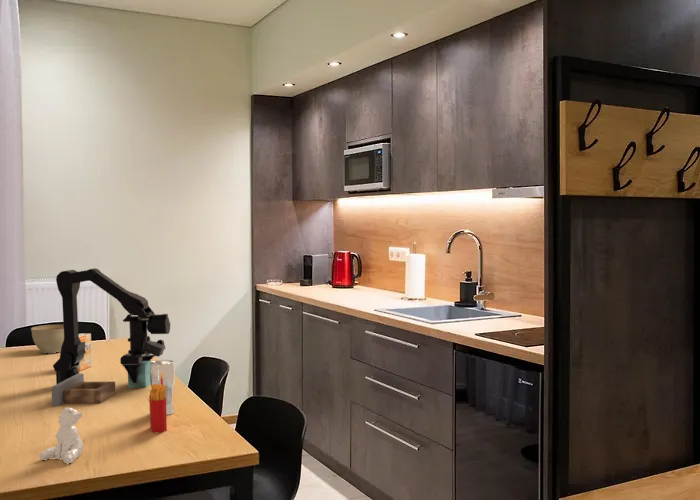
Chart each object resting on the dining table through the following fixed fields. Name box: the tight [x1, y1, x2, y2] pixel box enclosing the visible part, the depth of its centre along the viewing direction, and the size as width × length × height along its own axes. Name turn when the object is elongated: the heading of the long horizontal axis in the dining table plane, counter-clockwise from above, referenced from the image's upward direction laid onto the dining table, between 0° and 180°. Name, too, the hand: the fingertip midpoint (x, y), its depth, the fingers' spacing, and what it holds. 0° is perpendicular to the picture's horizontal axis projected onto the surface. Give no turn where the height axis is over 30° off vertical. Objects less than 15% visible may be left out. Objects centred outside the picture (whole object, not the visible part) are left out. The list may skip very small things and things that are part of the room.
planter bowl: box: [30, 324, 64, 354], centre depth 305 cm, size 16×16×11 cm
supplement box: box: [76, 333, 93, 372], centre depth 269 cm, size 8×5×13 cm, turn 168°
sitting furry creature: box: [38, 406, 84, 464], centre depth 169 cm, size 10×9×12 cm
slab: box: [51, 373, 85, 407], centre depth 224 cm, size 2×18×6 cm, turn 177°
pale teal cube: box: [127, 360, 152, 389], centre depth 240 cm, size 6×6×8 cm
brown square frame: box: [63, 381, 116, 404], centre depth 224 cm, size 12×12×4 cm
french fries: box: [148, 384, 168, 433], centre depth 190 cm, size 8×4×12 cm, turn 23°
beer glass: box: [150, 359, 176, 416], centre depth 206 cm, size 7×7×15 cm
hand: (139, 379), depth 240 cm, fingers open, 9 cm apart
